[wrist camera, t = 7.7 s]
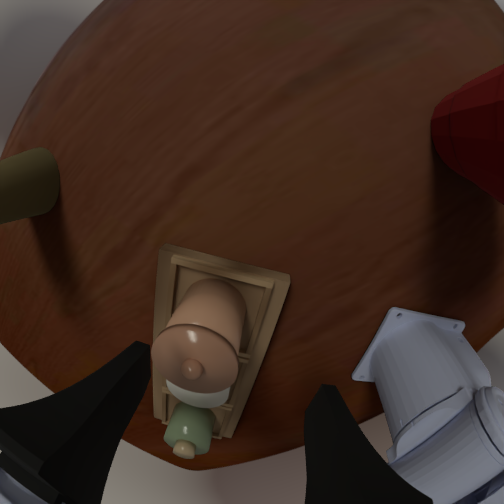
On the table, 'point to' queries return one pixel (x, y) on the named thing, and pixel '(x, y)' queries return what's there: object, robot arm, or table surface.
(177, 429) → the green jar
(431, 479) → the robot arm
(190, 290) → the spice jar
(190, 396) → the white rounded disc
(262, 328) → the tray
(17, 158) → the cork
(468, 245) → the table surface
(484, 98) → the plastic cup
